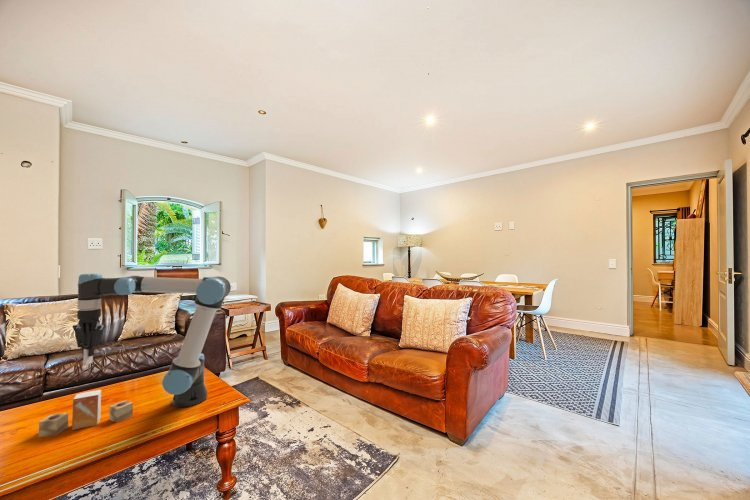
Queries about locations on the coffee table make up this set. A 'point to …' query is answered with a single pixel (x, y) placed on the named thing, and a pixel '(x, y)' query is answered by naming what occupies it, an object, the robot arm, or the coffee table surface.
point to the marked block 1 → (53, 424)
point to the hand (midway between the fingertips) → (87, 363)
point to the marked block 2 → (121, 411)
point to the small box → (86, 409)
